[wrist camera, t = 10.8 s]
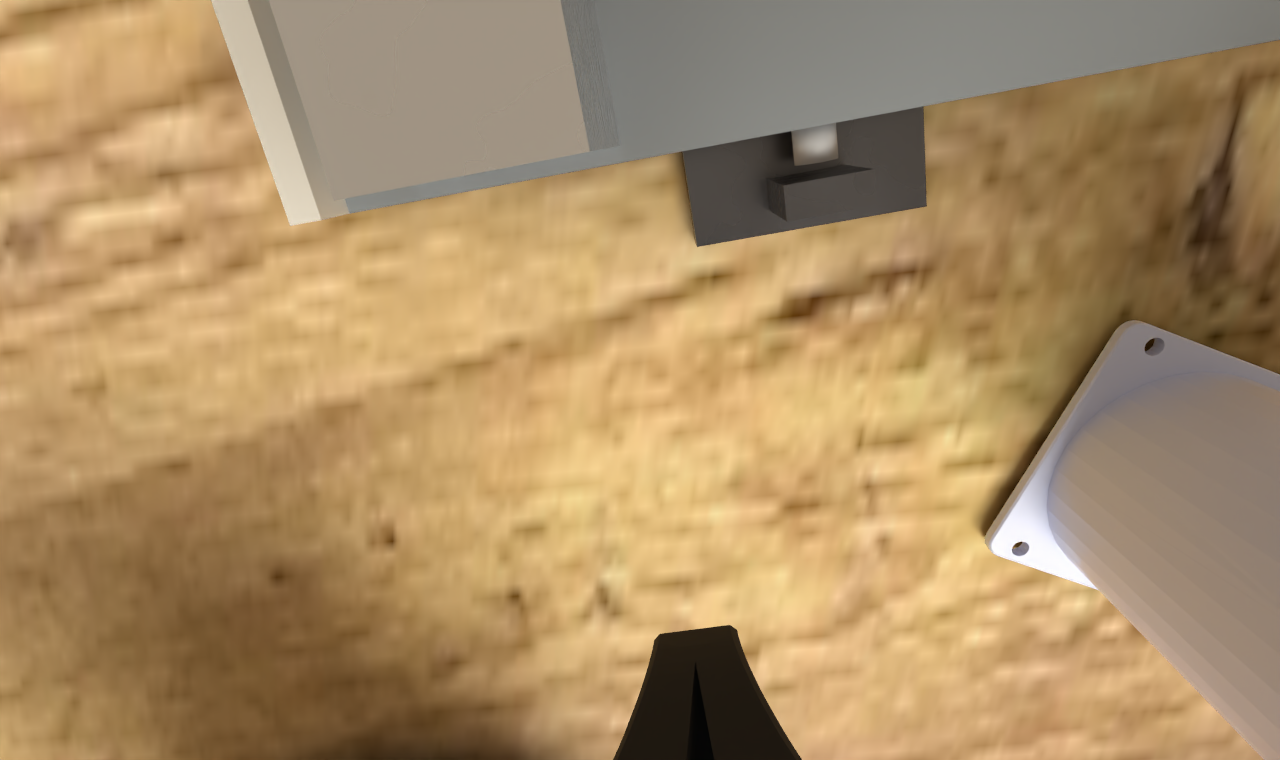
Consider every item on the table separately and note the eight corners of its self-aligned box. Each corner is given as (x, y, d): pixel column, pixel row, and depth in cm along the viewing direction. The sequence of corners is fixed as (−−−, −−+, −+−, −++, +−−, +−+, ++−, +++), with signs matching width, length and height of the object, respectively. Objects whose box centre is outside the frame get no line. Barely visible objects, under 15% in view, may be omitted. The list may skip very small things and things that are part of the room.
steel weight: (573, -118, 13) (522, -197, 10) (620, 145, 15) (589, 151, 12) (347, -57, 14) (233, -111, 11) (415, 185, 16) (333, 200, 12)
